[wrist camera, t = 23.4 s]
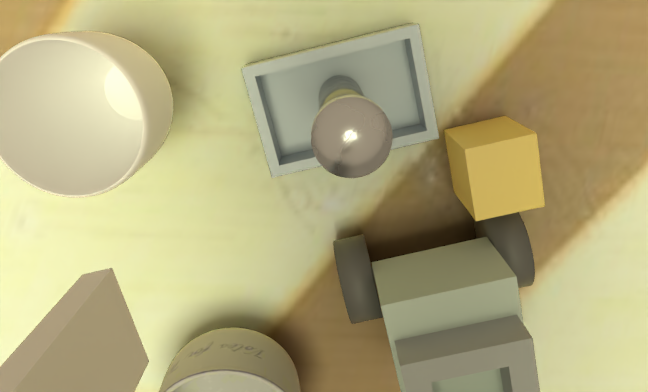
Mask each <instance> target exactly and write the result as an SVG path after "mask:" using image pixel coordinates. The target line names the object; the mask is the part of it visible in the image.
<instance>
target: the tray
mask: <svg viewBox="0 0 648 392" xmlns="http://www.w3.org/2000/svg"><path fill="white" fill-rule="evenodd" d="M241 70H242V73H243V77H244V80H245V84H246V88H247V91H248V95H249V98H250V102H251V105H252V109H253V112H254V116H255V119H256V123H257V127H258V130H259V134H260V137H261V141H262V144H263V148H264V151H265V155H266V159H267V162H268V166H269V169H270V173H271V176H272V178H273V177H278V176H282V175H286V174H290V173H294V172H299V171H303V170H307V169H311V168H316V167H320V166H322V165H321V164H320V163H319V162H318V160H317V159H316V157H315V155H314V153H313V149H312V145H311V128H312V124H313V121H314V118H315V116H316V114H317V113H318V111H319V100H318V96H319V91H320V88H321V86H322V85H323V84H324V82H325V81H327V80H328V79H329V78H331V77H334V76H338V75H342V76H347V77H350V78H352V79H353V80H355V81H356V82H357V84H358V85H359V87H360V88H361V90H362V92H363V94H364V95H365V97H367V98H369V99H371V100H372V101H374V102H375V103H376V104H378V105H379V106H380V107H381V109H382V110H383V111H384V113H385V114H386V116H387V118H388V119H389V122H390V124H391V128H392V133H393V141H392V147H391V150H392V149H396V148H400V147H405V146H409V145H413V144H417V143H422V142H426V141H430V140H434V139H439V134H438V128H437V123H436V117H435V111H434V106H433V100H432V95H431V89H430V84H429V78H428V72H427V67H426V61H425V56H424V50H423V44H422V39H421V33H420V28H419V24H415V23H409V24H405V25H401V26H397V27H393V28H389V29H385V30H381V31H377V32H373V33H369V34H365V35H361V36H357V37H353V38H349V39H345V40H341V41H337V42H333V43H329V44H325V45H321V46H317V47H313V48H309V49H305V50H301V51H297V52H293V53H289V54H285V55H281V56H277V57H273V58H269V59H265V60H261V61H257V62H253V63H249V64H246V65H245V66H244V67H242V68H241Z"/></svg>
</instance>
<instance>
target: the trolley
mask: <svg viewBox="0 0 648 392" xmlns="http://www.w3.org/2000/svg"><path fill="white" fill-rule="evenodd" d="M474 226H475V234H476V239H473V240H469V241H465V242H460V243H456V244H451V245H447V246H442V247H438V248H433V249H429V250H424V251H420V252H415V253H411V254H406V255H402V256H397V257H393V258H388V259H384V260H379V261H375V262H370V258H369V254H368V250H367V246H366V241H365V237H364V234H362V235H358V236H353V237H349V238H344V239H340V240H336V241H333V245H334V253H335V259H336V264H337V270H338V274H339V279H340V284H341V288H342V292H343V297H344V301H345V304H346V308H347V312H348V315H349V318H350V321H351V323H352V324H355V323H359V322H364V321H368V320H373V319H378V318H382V317H384V322H385V326H386V330H387V334H388V339H389V343H390V347H391V351H392V356H393V360H394V364H395V368H396V373H397V377H398V381H399V385H400V390H401V392H540V388H539V381H538V374H537V367H536V360H535V353H534V346H533V339H532V337H531V335H530V334H529V332H528V331H527V329H526V328H525V326H524V324H523V317H522V310H521V304H520V297H519V290H518V288H521V287H525V286H530V285H532V284H533V282H534V276H535V269H534V259H533V253H532V249H531V244H530V241H529V237H528V234H527V231H526V228H525V226H524V223H523V221H522V218H521V216H520V214H519V212H516V213H512V214H507V215H503V216H498V217H493V218H489V219H484V220H480V221H475V219H474ZM371 263H372V267H371ZM375 283H376V284H375ZM376 286H377V288H376ZM377 291H378V293H377ZM378 295H379V297H378ZM379 300H380V302H379ZM380 304H381V306H380ZM381 309H382V311H381ZM382 313H383V316H382Z"/></svg>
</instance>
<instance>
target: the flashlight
mask: <svg viewBox="0 0 648 392" xmlns="http://www.w3.org/2000/svg"><path fill="white" fill-rule="evenodd" d="M318 100H319V111H318V113H317V114H316V116H315V118H314V121H313V124H312V128H311V145H312V149H313V153H314V155H315V157H316V159H317V160H318V162H319V163H320V164H321V165H322V166H323V167H324V168H325V169H326V170H328V171H329V172H331V173H333V174H335V175H337V176H340V177H345V178H357V177H362V176H365V175H367V174H370V173H372V172H373V171H375V170H376V169H377V168H379V167H380V166H381V165H382V164H383V162H384V161H385V160H386V158H387V157H388V155H389V152H390V150H391V147H392V141H393V133H392V128H391V124H390V122H389V119H388V118H387V116H386V114H385V113H384V111H383V110H382V109H381V107H380V106H379V105H378V104H376V103H375V102H374V101H372V100H371V99H369V98H367V97H365V95H364V94H363V92H362V90H361V88H360V87H359V85H358V84H357V82H356V81H355V80H353V79H352V78H350V77H347V76H342V75H338V76H334V77H331V78H329V79H328V80H327V81H325V82H324V84H323V85H322V86H321V88H320V91H319V96H318Z"/></svg>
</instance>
